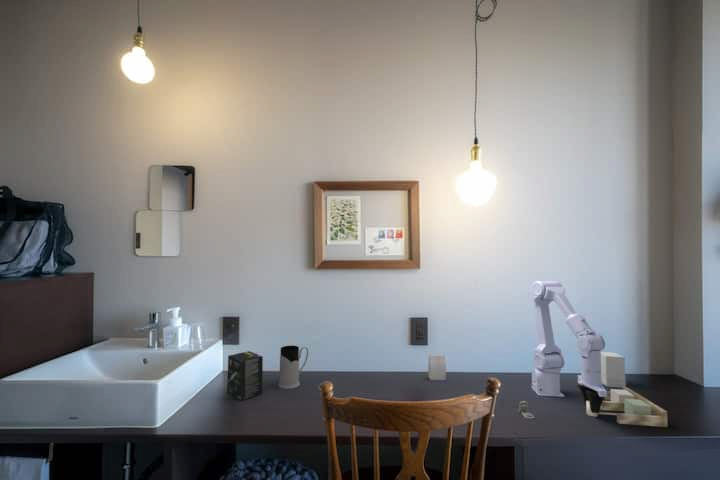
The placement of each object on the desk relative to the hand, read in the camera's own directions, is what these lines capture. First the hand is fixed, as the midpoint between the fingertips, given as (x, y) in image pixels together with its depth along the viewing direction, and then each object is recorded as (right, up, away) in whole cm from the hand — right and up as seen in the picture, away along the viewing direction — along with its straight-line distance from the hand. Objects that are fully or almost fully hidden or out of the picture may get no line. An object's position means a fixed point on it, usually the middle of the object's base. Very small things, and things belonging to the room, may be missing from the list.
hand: (592, 409), depth 114 cm
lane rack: (+13, -2, +3) cm, 13 cm away
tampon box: (-124, -2, +15) cm, 125 cm away
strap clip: (-23, -2, +1) cm, 23 cm away
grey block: (+16, -2, +7) cm, 18 cm away
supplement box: (+28, -4, +28) cm, 39 cm away
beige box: (-45, -3, +33) cm, 56 cm away
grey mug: (-107, -2, +27) cm, 110 cm away
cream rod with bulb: (+7, -1, -1) cm, 8 cm away
